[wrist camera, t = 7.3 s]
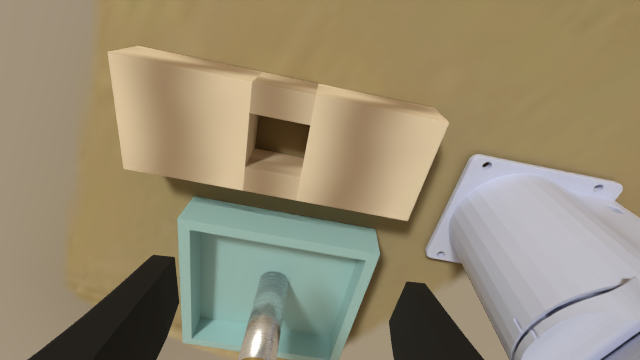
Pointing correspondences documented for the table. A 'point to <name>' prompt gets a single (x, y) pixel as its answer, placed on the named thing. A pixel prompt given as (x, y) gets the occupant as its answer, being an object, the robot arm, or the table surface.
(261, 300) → the pin
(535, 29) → the table surface
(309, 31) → the table surface
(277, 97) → the beige slotted block
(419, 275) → the table surface
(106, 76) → the table surface
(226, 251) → the tray
